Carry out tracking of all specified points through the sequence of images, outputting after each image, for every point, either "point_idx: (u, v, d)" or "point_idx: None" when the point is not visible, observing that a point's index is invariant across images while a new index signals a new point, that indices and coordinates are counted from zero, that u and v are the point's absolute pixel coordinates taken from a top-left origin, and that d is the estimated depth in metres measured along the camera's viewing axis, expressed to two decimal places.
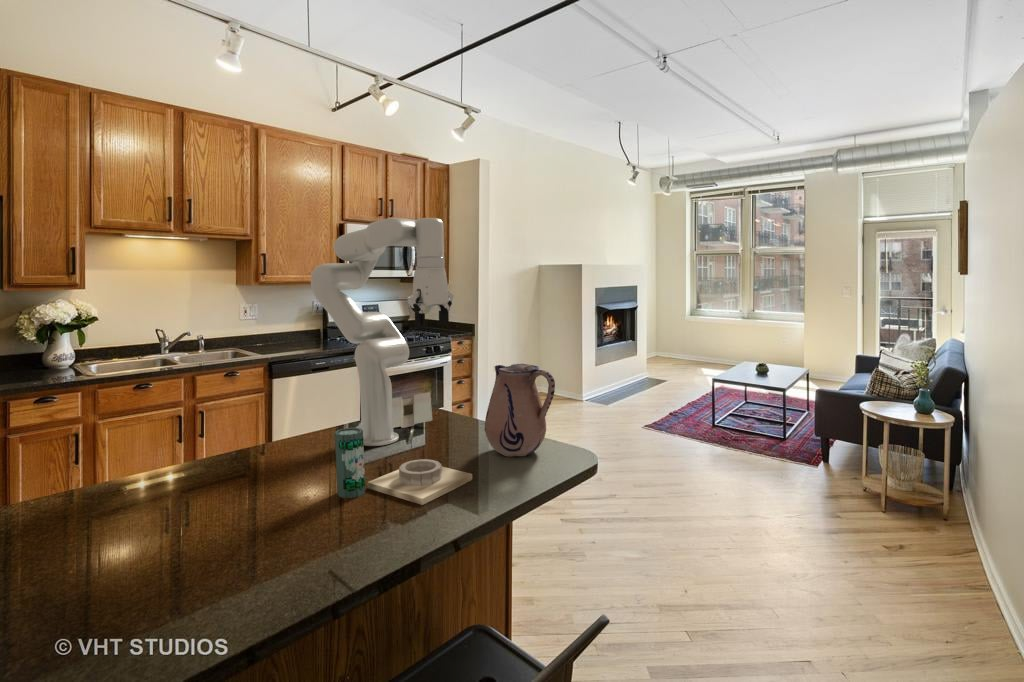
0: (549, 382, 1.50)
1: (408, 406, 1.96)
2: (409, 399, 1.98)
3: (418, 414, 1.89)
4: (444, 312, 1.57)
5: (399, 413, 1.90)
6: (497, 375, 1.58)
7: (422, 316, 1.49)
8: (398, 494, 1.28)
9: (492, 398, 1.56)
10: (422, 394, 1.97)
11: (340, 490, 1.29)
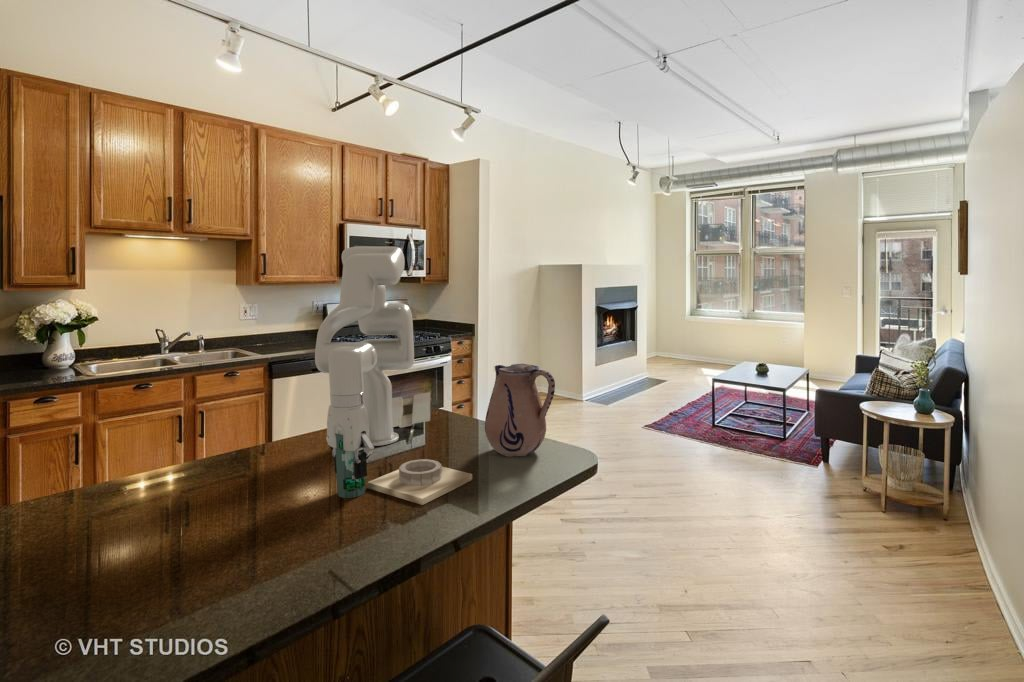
0: (549, 382, 1.50)
1: (408, 406, 1.96)
2: (409, 399, 1.98)
3: (416, 414, 1.89)
4: None
5: (398, 413, 1.91)
6: (497, 375, 1.58)
7: None
8: (398, 494, 1.28)
9: (492, 398, 1.56)
10: (422, 394, 1.97)
11: (340, 490, 1.29)
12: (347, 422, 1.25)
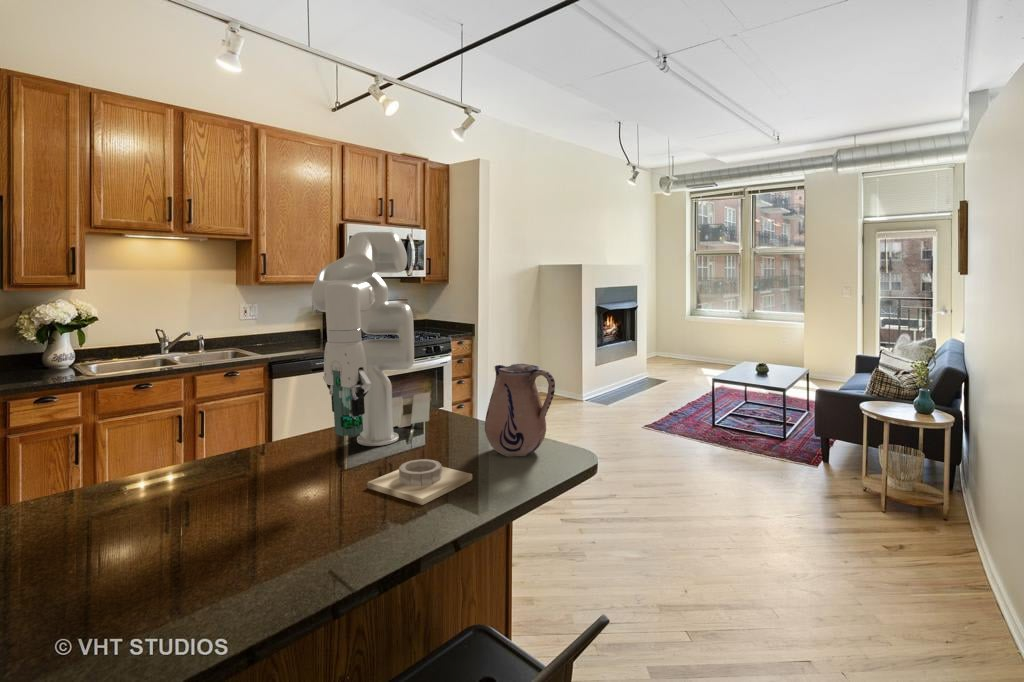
0: (549, 382, 1.50)
1: (408, 406, 1.96)
2: (409, 399, 1.98)
3: (416, 414, 1.89)
4: None
5: (397, 413, 1.91)
6: (497, 375, 1.58)
7: (362, 400, 1.28)
8: (398, 494, 1.28)
9: (492, 398, 1.56)
10: (422, 394, 1.97)
11: (337, 428, 1.27)
12: (344, 358, 1.24)
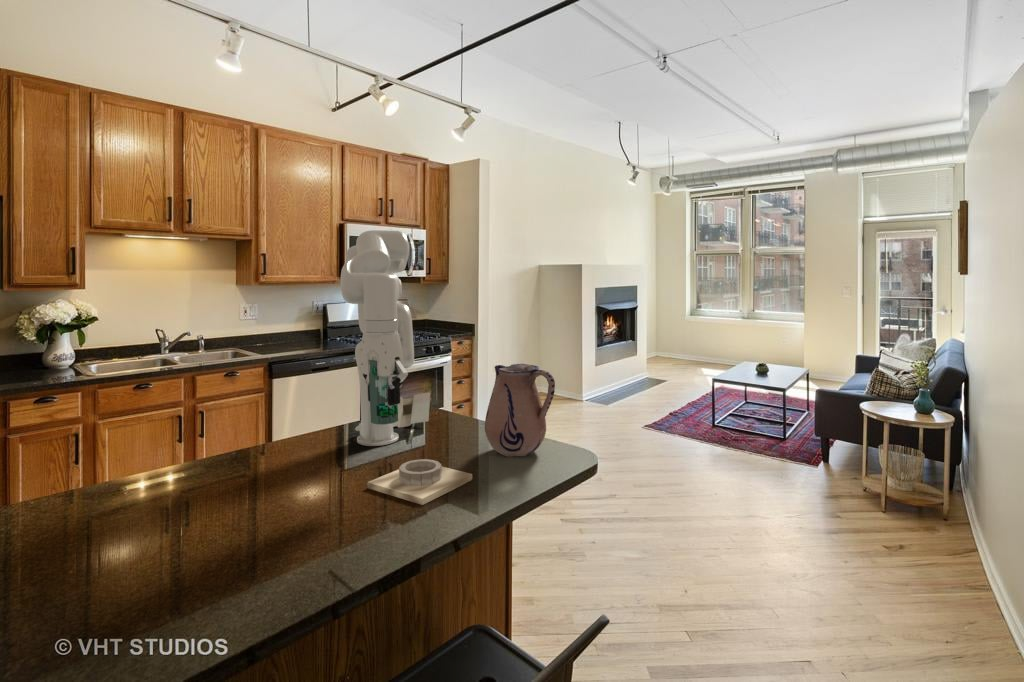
0: (549, 382, 1.50)
1: (408, 406, 1.96)
2: (409, 399, 1.98)
3: (415, 414, 1.89)
4: None
5: None
6: (497, 375, 1.58)
7: (398, 390, 1.30)
8: (398, 494, 1.28)
9: (492, 398, 1.56)
10: (422, 394, 1.97)
11: (373, 417, 1.29)
12: (381, 347, 1.26)
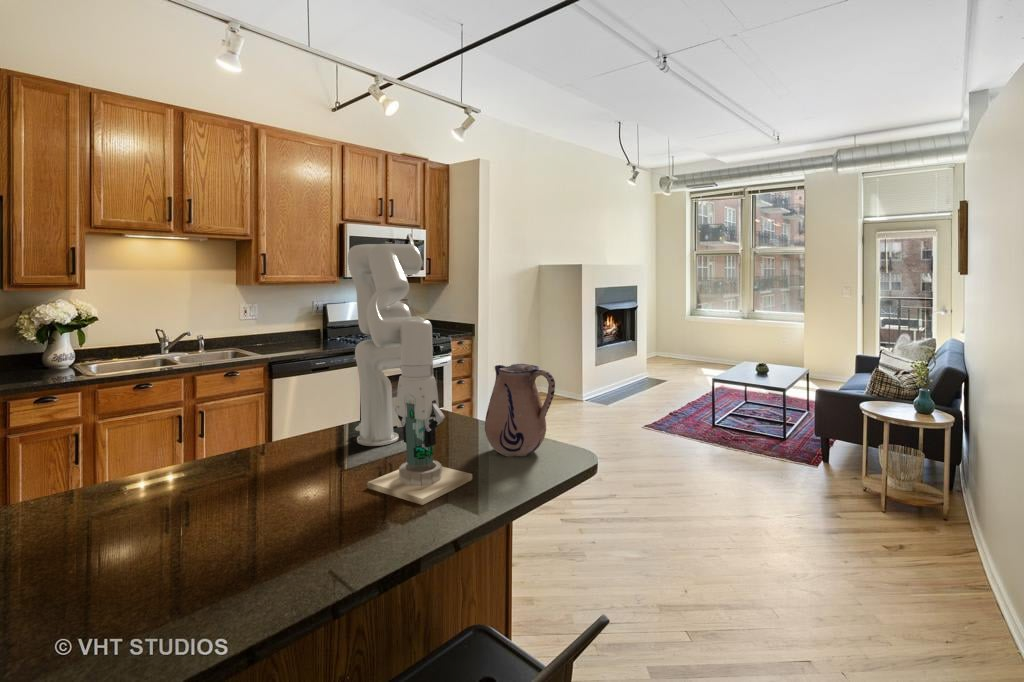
0: (549, 382, 1.50)
1: None
2: None
3: None
4: None
5: None
6: (497, 375, 1.58)
7: None
8: (398, 494, 1.28)
9: (492, 398, 1.56)
10: None
11: (410, 458, 1.33)
12: (419, 391, 1.30)
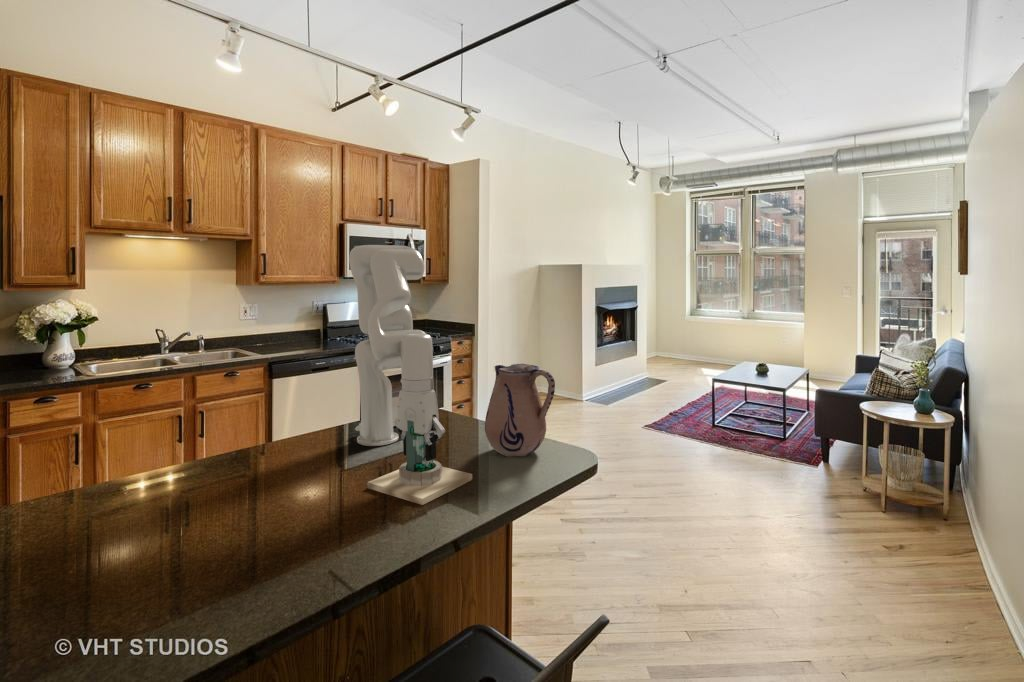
0: (549, 382, 1.50)
1: None
2: None
3: None
4: None
5: None
6: (497, 375, 1.58)
7: None
8: (398, 494, 1.28)
9: (492, 398, 1.56)
10: None
11: None
12: (419, 406, 1.30)
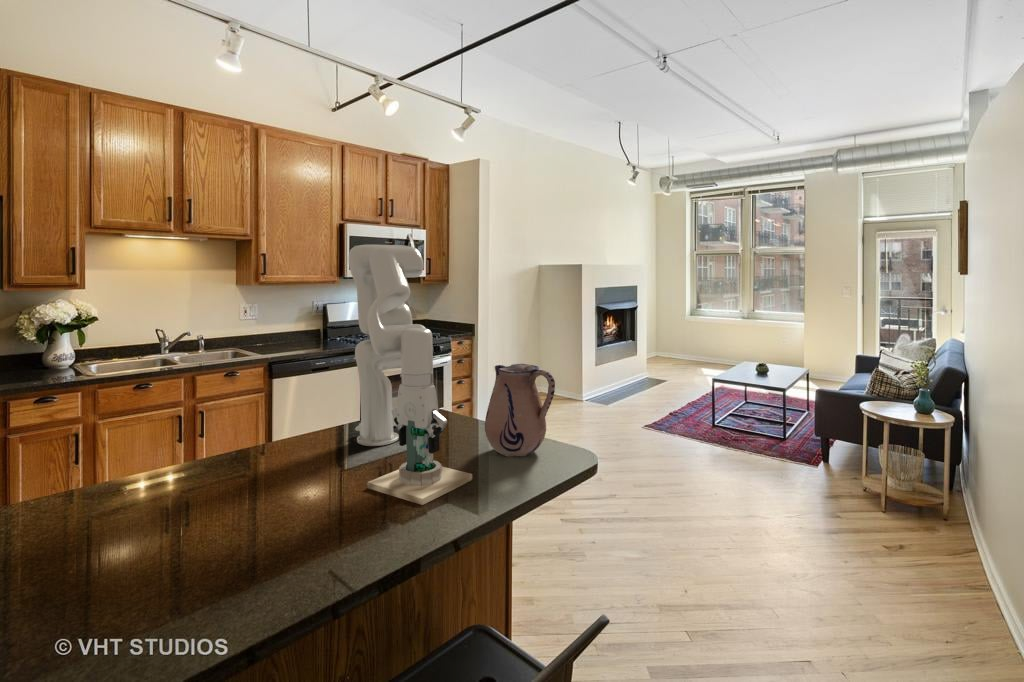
0: (549, 382, 1.50)
1: None
2: None
3: None
4: None
5: None
6: (497, 375, 1.58)
7: None
8: (398, 494, 1.28)
9: (492, 398, 1.56)
10: None
11: None
12: (419, 400, 1.30)
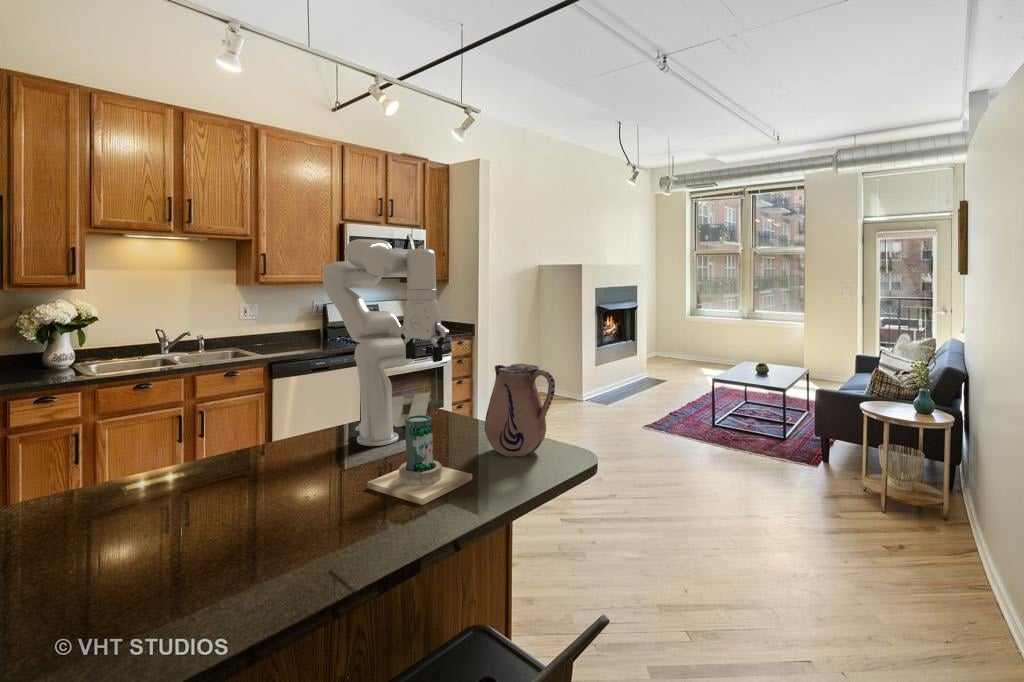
0: (549, 382, 1.50)
1: (408, 405, 1.96)
2: (410, 398, 1.98)
3: (413, 414, 1.89)
4: (413, 345, 1.52)
5: (396, 412, 1.92)
6: (497, 375, 1.58)
7: None
8: (398, 494, 1.28)
9: (492, 398, 1.56)
10: (422, 394, 1.97)
11: None
12: (423, 313, 1.44)
